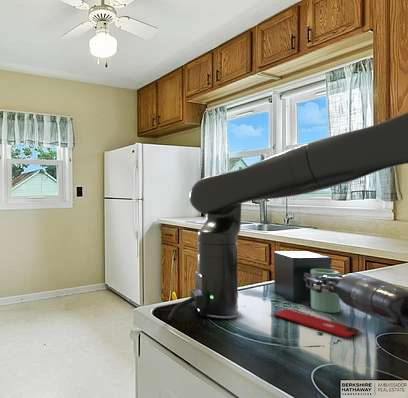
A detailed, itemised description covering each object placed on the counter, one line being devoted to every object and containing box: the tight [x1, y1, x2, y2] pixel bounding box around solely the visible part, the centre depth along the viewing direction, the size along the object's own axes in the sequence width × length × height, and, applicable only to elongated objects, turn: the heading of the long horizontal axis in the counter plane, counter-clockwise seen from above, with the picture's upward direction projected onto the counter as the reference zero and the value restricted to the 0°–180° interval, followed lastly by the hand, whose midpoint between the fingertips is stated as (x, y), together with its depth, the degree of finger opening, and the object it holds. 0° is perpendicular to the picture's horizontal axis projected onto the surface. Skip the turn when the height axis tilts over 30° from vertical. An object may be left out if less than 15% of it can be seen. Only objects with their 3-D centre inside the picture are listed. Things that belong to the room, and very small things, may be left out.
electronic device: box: [273, 308, 360, 339], centre depth 71 cm, size 6×1×15 cm
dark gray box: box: [273, 251, 333, 303], centre depth 91 cm, size 12×10×12 cm
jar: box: [310, 269, 341, 314], centre depth 81 cm, size 6×6×10 cm
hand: (318, 276), depth 84 cm, fingers closed on jar, 6 cm apart
